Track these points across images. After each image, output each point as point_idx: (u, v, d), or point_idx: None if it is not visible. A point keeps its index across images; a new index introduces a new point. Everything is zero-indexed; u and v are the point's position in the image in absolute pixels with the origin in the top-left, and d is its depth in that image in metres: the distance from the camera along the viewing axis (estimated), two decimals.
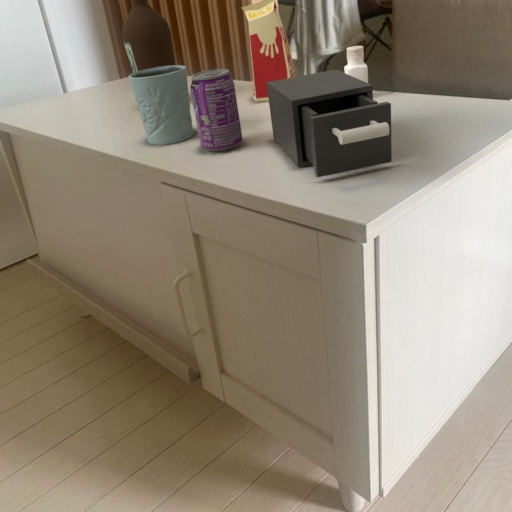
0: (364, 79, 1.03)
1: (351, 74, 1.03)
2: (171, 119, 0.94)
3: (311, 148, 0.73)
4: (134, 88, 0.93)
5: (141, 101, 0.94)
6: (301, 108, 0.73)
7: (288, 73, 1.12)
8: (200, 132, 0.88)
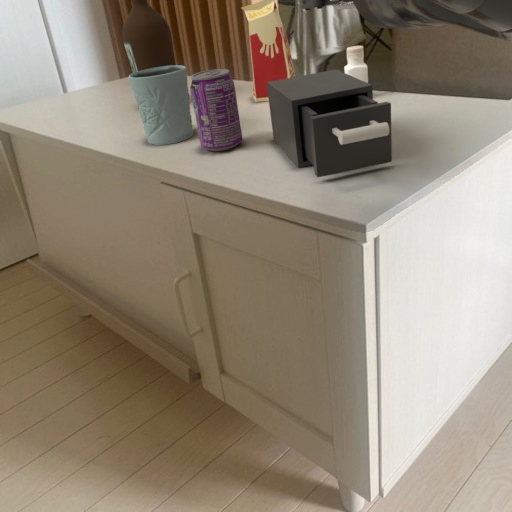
0: (364, 79, 1.03)
1: (351, 74, 1.03)
2: (171, 119, 0.94)
3: (311, 148, 0.73)
4: (134, 88, 0.93)
5: (141, 101, 0.94)
6: (301, 108, 0.73)
7: (288, 73, 1.12)
8: (200, 132, 0.88)
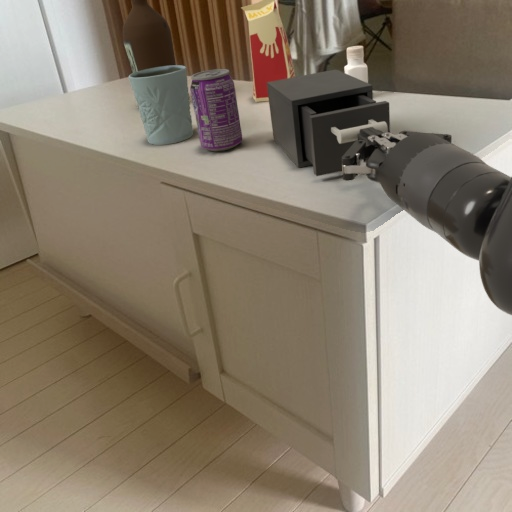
0: (364, 79, 1.03)
1: (351, 74, 1.03)
2: (171, 119, 0.94)
3: (310, 147, 0.73)
4: (134, 88, 0.93)
5: (141, 101, 0.94)
6: (300, 107, 0.74)
7: (288, 73, 1.12)
8: (200, 132, 0.88)
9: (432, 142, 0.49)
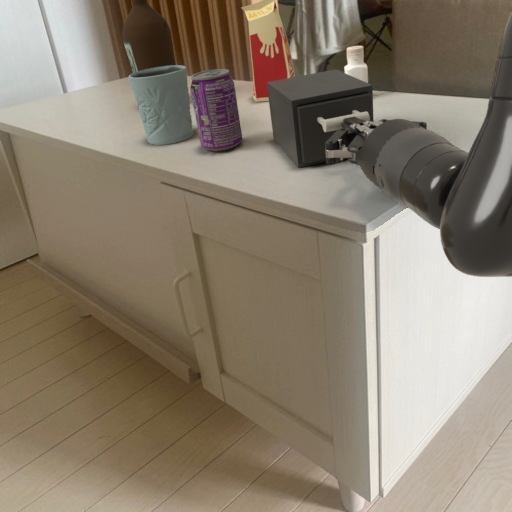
0: (364, 79, 1.03)
1: (351, 74, 1.03)
2: (171, 119, 0.94)
3: None
4: (134, 88, 0.93)
5: (141, 101, 0.94)
6: None
7: (288, 73, 1.12)
8: (200, 132, 0.88)
9: (405, 126, 0.54)
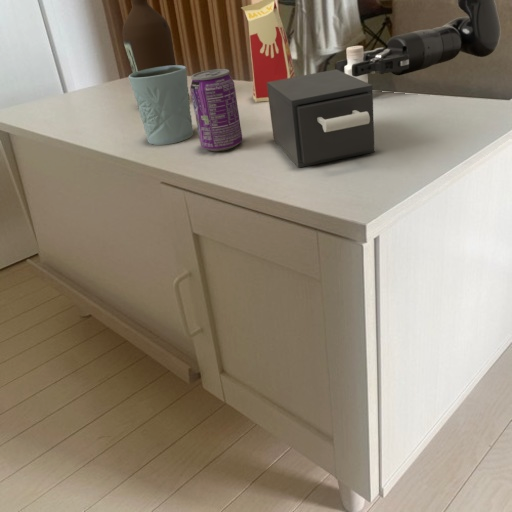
0: (364, 79, 1.03)
1: (351, 74, 1.03)
2: (171, 119, 0.94)
3: None
4: (134, 88, 0.93)
5: (141, 101, 0.94)
6: None
7: (288, 73, 1.12)
8: (200, 132, 0.88)
9: (409, 33, 1.07)
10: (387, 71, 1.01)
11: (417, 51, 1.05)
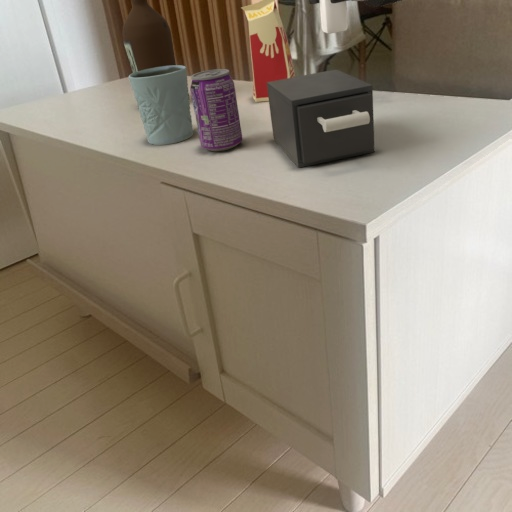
0: (343, 8, 0.92)
1: (329, 2, 0.91)
2: (171, 119, 0.95)
3: None
4: (134, 88, 0.93)
5: (141, 101, 0.94)
6: None
7: (288, 73, 1.12)
8: (200, 132, 0.88)
9: None
10: None
11: None
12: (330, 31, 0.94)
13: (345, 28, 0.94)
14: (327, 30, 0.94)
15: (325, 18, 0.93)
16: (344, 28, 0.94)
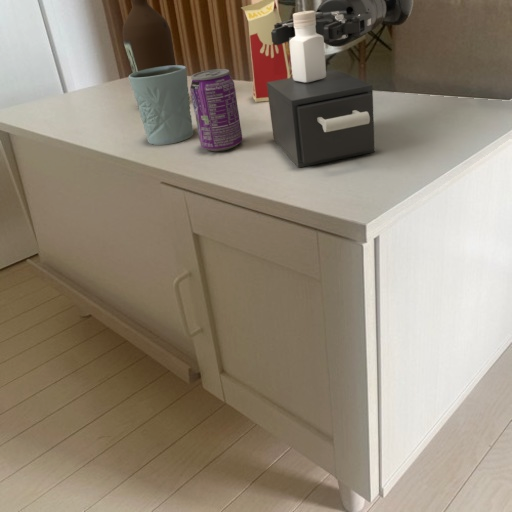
0: (322, 53, 0.79)
1: (307, 47, 0.78)
2: (171, 119, 0.94)
3: None
4: (134, 88, 0.93)
5: (141, 101, 0.94)
6: None
7: (288, 73, 1.12)
8: (200, 132, 0.88)
9: None
10: (362, 33, 0.78)
11: (361, 13, 0.85)
12: (309, 80, 0.80)
13: (324, 76, 0.81)
14: (306, 79, 0.80)
15: (303, 65, 0.79)
16: (323, 76, 0.81)
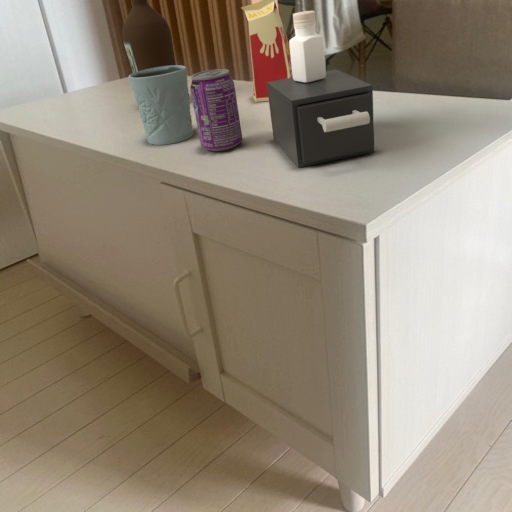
0: (322, 53, 0.79)
1: (307, 47, 0.78)
2: (171, 119, 0.94)
3: None
4: (134, 88, 0.93)
5: (141, 101, 0.94)
6: None
7: (288, 73, 1.12)
8: (200, 132, 0.88)
9: None
10: None
11: None
12: (309, 80, 0.80)
13: (324, 76, 0.81)
14: (306, 79, 0.80)
15: (303, 65, 0.79)
16: (323, 76, 0.81)
